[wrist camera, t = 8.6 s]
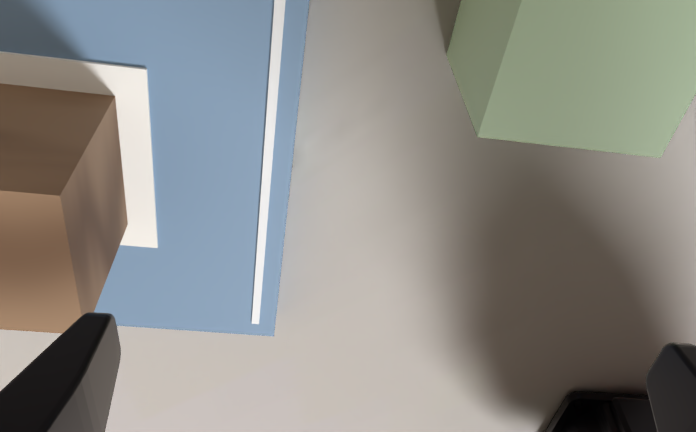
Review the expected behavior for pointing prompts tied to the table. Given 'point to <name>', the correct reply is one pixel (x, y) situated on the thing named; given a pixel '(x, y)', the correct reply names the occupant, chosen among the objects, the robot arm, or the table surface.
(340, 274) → the table surface
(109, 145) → the walnut block
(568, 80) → the green block
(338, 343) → the table surface
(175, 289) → the board
